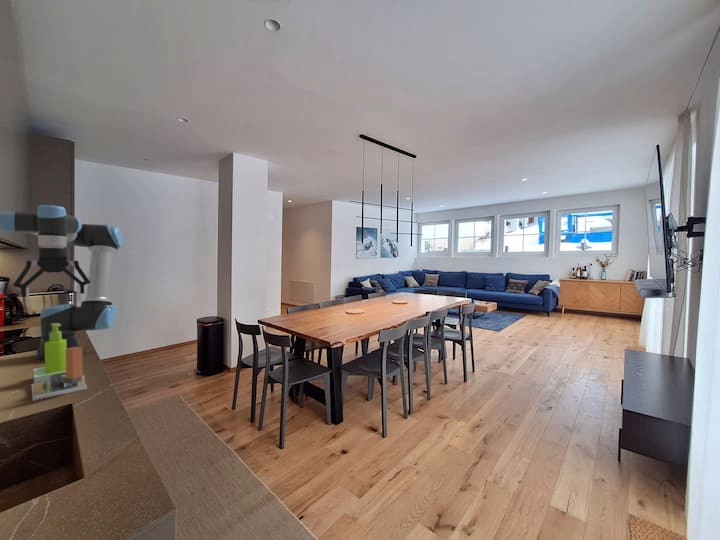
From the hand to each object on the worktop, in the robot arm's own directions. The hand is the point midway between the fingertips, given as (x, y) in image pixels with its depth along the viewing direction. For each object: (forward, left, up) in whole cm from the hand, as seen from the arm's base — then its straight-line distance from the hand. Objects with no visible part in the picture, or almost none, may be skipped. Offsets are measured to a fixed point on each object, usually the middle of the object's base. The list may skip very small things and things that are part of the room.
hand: (54, 304), depth 116 cm
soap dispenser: (0, 0, -28) cm, 28 cm away
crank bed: (+11, +9, -28) cm, 31 cm away
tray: (0, 0, -28) cm, 28 cm away
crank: (+12, +12, -26) cm, 31 cm away
